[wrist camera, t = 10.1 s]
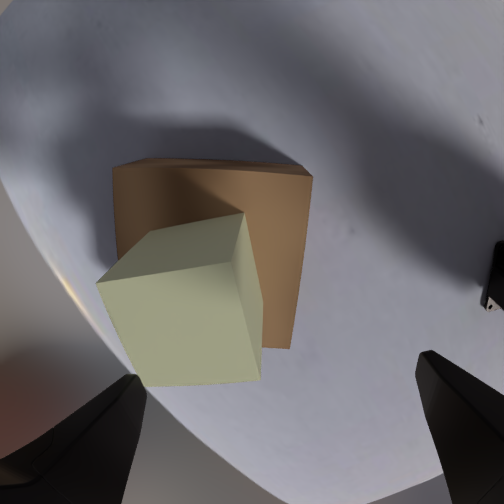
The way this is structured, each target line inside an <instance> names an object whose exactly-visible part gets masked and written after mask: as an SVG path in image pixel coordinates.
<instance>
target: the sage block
mask: <svg viewBox="0 0 504 504" xmlns="http://www.w3.org/2000/svg"><path fill="white" fill-rule="evenodd" d="M96 286H97V288H98V291H99V293H100V296H101V298H102V300H103V303H104V305H105V308H106V310H107V312H108V314H109V317H110V319H111V321H112V324H113V326H114V328H115V330H116V332H117V334H118V337H119V339H120V341H121V343H122V345H123V347H124V349H125V351H126V353H127V355H128V357H129V359H130V361H131V363H132V365H133V367H134V369H135V371H136V373H137V375H138V376H139V377H140V379H141V381H142V384H143V386H144V387H157V386H191V385H210V384H224V383H236V382H247V381H257V380H261V354H262V325H263V299H262V294H261V289H260V284H259V279H258V275H257V270H256V265H255V260H254V256H253V251H252V246H251V241H250V237H249V232H248V227H247V222H246V217H245V213H239V214H234V215H228V216H223V217H218V218H213V219H207V220H202V221H197V222H192V223H187V224H182V225H177V226H172V227H167V228H162V229H158V230H153V231H150V232H148V233H147V234H146V235H145V236H144V237H143V238H142V239H141V240H140V241H139V242H138V243H137V244H136V245H134V246H133V247H132V248H131V249H130V250H129V251H128V252H127V253H126V254H125V255H124V256H123V257H122V258H121V259H120V260H119V261H118V262H117V263H116V264H115V265H114V266H113V267H112V268H110V269H109V270H108V271H107V272H106V273H105V274H104V275H103V276H102V277H101V278H100V279H99V280H98V281H97V282H96Z"/></svg>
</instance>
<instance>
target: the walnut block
mask: <svg viewBox="0 0 504 504" xmlns="http://www.w3.org/2000/svg"><path fill="white" fill-rule="evenodd" d="M112 170H113V200H114V218H115V232H116V244H117V254H118V261H119V260H120V259H121V258H122V257H123V256H124V255H125V254H126V253H127V252H128V251H129V250H130V249H131V248H132V247H133V246H134V245H136V244H137V243H138V242H139V241H140V240H141V239H142V238H143V237H144V236H145V235H146V234H147V233H148V232H150V231H153V230H158V229H162V228H167V227H172V226H177V225H182V224H187V223H192V222H197V221H202V220H207V219H213V218H218V217H223V216H228V215H234V214H239V213H245V217H246V222H247V227H248V232H249V237H250V241H251V246H252V251H253V256H254V260H255V265H256V270H257V275H258V279H259V284H260V289H261V294H262V299H263V325H262V347H266V348H282V349H290V344H291V338H292V332H293V326H294V320H295V313H296V307H297V300H298V293H299V286H300V279H301V272H302V265H303V258H304V250H305V242H306V234H307V226H308V218H309V209H310V200H311V191H312V181H313V176H312V175H311V174H310V173H309V172H308V171H307V170H306V169H305V168H304V167H303V166H300V165H289V164H277V163H265V162H250V161H233V160H212V159H173V158H146V159H142V160H138V161H135V162H131V163H128V164H124V165H121V166H117V167H114V168H112Z"/></svg>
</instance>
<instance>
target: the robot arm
mask: <svg viewBox="0 0 504 504" xmlns="http://www.w3.org/2000/svg"><path fill="white" fill-rule="evenodd" d="M500 247H501V249H500ZM484 308H485V310H486V311H487V312H490V311H494V310H497V309H502V310H503V311H504V241H500V242H498V243H497V244H496V246H495V252H494V259H493V265H492V271H491V277H490V282H489V287H488V292H487V296H486V301H485V305H484ZM415 377H416V381H417V385H418V389H419V393H420V397H421V401H422V405H423V410H424V414H425V417H426V420H427V423H428V426H429V429H430V432H431V435H432V438H433V441H434V444H435V447H436V450H437V453H438V456H439V459H440V462H441V466H442V469H443V472H444V476H445V479H446V482H447V486H448V489H449V493H450V497H451V500H452V504H504V395H503V394H501V393H499V392H498V391H496V390H495V389H493V388H492V387H490V386H488V385H487V384H485V383H484V382H482V381H481V380H479V379H478V378H476V377H474V376H473V375H471V374H470V373H468V372H466V371H465V370H463V369H462V368H460V367H459V366H457V365H455V364H454V363H452V362H451V361H449V360H447V359H446V358H444V357H443V356H441V355H440V354H438V353H436V352H435V351H433V350H428V351H424V352H421V353H420V354H419V358H418V362H417V367H416V371H415ZM146 399H147V393H146V390H145V388H144V386H143V384H142V381H141V379H140V377H139V376H138V375H136V374H126V375H124V376H123V377H121V378H120V379H119V380H117V381H116V382H115V383H113V384H112V385H111V386H109V387H108V388H106V389H105V390H104V391H102V392H101V393H100V394H98V395H97V396H96V397H94V398H93V399H92V400H90V401H89V402H87V403H86V404H85V405H83V406H82V407H80V408H79V409H78V410H76V411H75V412H74V413H72V414H71V415H69V416H68V417H67V418H65V419H64V420H62V421H61V422H60V423H59V424H57V425H56V426H54V428H51V429H50V430H48V431H47V432H46V433H44V434H43V435H41V436H40V437H38V438H37V439H35V440H34V441H32V442H30V443H29V444H27V445H25V446H24V447H22V448H20V449H18V450H16V451H15V452H13V453H11V454H9V455H8V456H6V457H4V458H2V459H0V504H121V503H122V499H123V495H124V491H125V487H126V484H127V480H128V476H129V473H130V469H131V465H132V462H133V458H134V455H135V451H136V448H137V444H138V441H139V437H140V432H141V428H142V422H143V416H144V411H145V405H146Z"/></svg>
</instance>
